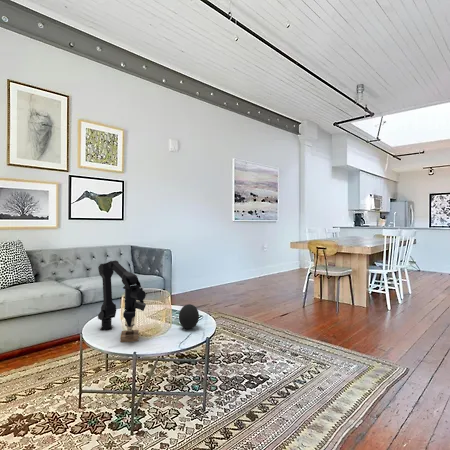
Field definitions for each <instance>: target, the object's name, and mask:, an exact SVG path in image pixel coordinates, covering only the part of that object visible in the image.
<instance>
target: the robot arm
mask: <svg viewBox="0 0 450 450" xmlns="http://www.w3.org/2000/svg"><path fill="white" fill-rule="evenodd" d="M97 270H98V273H99V276H100V277H101V278H102V279H101V280H102V294H103V297H102V299H103V303H102V304H101V307H100V312H99V313H98V314H97V319H98V320H100V321H101V325H100V326H101V327H100V330H99V331H110V330H112V329H113V325H112V319H113V318H116V314H117V305H116V303H114V301H113V291H112V290H113V289H112V277H113V275H114V273H116V274H117V275H118V276H119V277H120V278H121V282H122V285H124V286H123V287H122V289H123V290H124V311H123V313H122V315H123V316H122V317H123V318H124V319H125V320H126V322H127V324H128V327H131V323H132V318H133V317H135V318H136V311H137V310H140V311H142V312H144V311H145V309H146V305H147V303H146V302H145V298H146V295H147V294H146V291H144V288H143V287H142V285H141V282H140V280H139V277H138V276H137V274H135V273H133V272H129V271H128V270H127V269H125V268H124V266H123V265H121V263H120V262H119V260H110V261H108V262H105V263H100V264H99V266H98V269H97ZM125 320H124V321H125Z"/></svg>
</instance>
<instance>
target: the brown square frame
mask: <svg viewBox="0 0 450 450" xmlns="http://www.w3.org/2000/svg"><path fill="white" fill-rule="evenodd" d="M139 333H140V332H139V329H132V331H128V329H127V330H121V333H120V340H119V341H120V343H130V342H139V336H138V335H139Z"/></svg>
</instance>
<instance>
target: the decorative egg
mask: <svg viewBox="0 0 450 450" xmlns="http://www.w3.org/2000/svg"><path fill="white" fill-rule="evenodd" d="M199 319H200V313H199V310H198V308H197V307H196V306H195V305H194V304H190V303H188V304H185V305H183V306H182V307H181V308H180V311H179V313H178V320H179V324H180V325H181V327H182V328H185V329H186V330H190V329H191V330H192V329H194V328H195V327H196V325H198V324H199V323H198V322H199Z"/></svg>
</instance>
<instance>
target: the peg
mask: <svg viewBox="0 0 450 450" xmlns="http://www.w3.org/2000/svg"><path fill="white" fill-rule="evenodd" d="M135 318H136V316H135V317H133V318H132V323H131V327H128V324H127V322H126V320H124V321H125V322H124V325H125V327H126V329H127V330H128V331H132V330H133V328H134V326H135V325H136V324H135V320H136V319H135Z"/></svg>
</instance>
